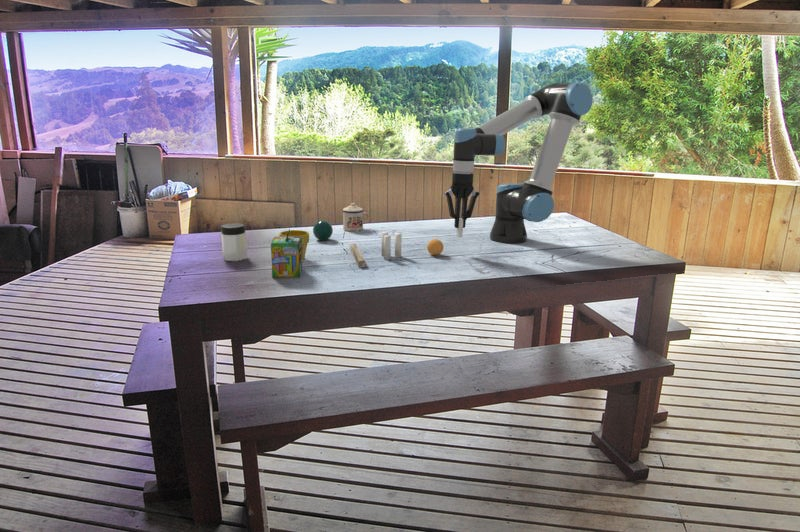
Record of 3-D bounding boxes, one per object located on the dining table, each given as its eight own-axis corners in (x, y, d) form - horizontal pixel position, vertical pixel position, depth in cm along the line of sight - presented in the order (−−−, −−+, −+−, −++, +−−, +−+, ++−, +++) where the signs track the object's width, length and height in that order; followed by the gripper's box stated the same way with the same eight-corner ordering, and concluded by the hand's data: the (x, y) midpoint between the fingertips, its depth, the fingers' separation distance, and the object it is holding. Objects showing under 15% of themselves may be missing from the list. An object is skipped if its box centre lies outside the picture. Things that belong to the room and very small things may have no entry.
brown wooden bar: (355, 249, 217) (355, 243, 216) (364, 267, 194) (364, 260, 193) (350, 250, 216) (350, 243, 215) (359, 267, 194) (359, 260, 193)
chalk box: (275, 269, 190) (273, 226, 186) (303, 269, 191) (301, 226, 187) (271, 278, 181) (268, 232, 177) (300, 277, 182) (298, 232, 178)
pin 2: (389, 257, 206) (390, 235, 204) (391, 259, 204) (391, 236, 202) (383, 258, 206) (383, 235, 203) (384, 259, 204) (384, 236, 201)
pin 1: (387, 254, 211) (387, 232, 209) (388, 256, 209) (388, 233, 206) (380, 254, 210) (381, 232, 208) (382, 256, 208) (382, 233, 206)
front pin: (400, 255, 209) (400, 233, 207) (401, 257, 207) (402, 234, 205) (394, 255, 209) (394, 233, 207) (395, 257, 207) (395, 234, 204)
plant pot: (306, 254, 209) (305, 228, 206) (312, 262, 200) (312, 234, 197) (278, 257, 205) (276, 230, 203) (283, 264, 196) (282, 237, 193)
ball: (440, 252, 214) (441, 237, 213) (445, 256, 209) (445, 240, 207) (425, 253, 213) (425, 237, 211) (429, 257, 208) (429, 241, 206)
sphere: (331, 242, 227) (331, 222, 225) (311, 242, 228) (311, 222, 225) (334, 237, 235) (333, 218, 233) (314, 237, 235) (314, 218, 233)
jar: (249, 260, 201) (247, 226, 198) (225, 262, 198) (223, 228, 194) (244, 254, 209) (242, 222, 205) (221, 256, 205) (218, 223, 202)
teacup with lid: (346, 232, 245) (345, 205, 242) (340, 228, 253) (340, 202, 250) (372, 230, 249) (372, 204, 246) (366, 226, 258) (365, 200, 254)
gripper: (476, 171, 209) (472, 233, 216) (442, 171, 207) (439, 234, 213) (483, 173, 202) (479, 238, 209) (448, 173, 199) (445, 239, 206)
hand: (459, 236), depth 211 cm, fingers closed
